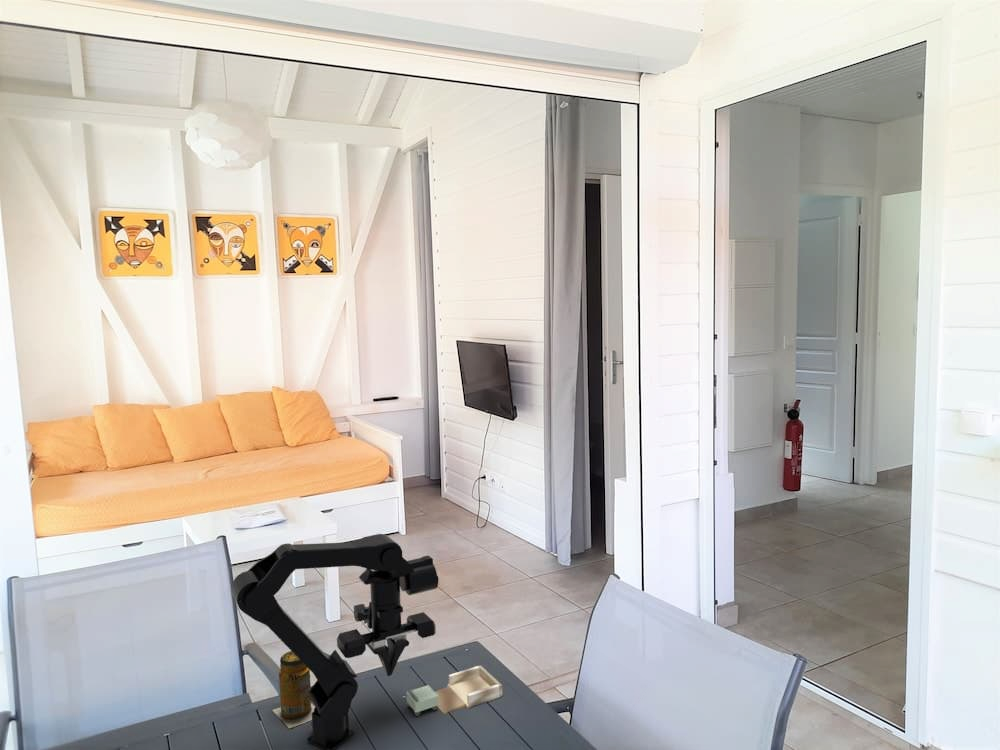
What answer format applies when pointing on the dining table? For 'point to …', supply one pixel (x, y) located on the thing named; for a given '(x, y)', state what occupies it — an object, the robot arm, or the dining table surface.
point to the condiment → (294, 691)
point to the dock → (468, 689)
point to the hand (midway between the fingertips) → (388, 674)
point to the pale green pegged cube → (422, 699)
